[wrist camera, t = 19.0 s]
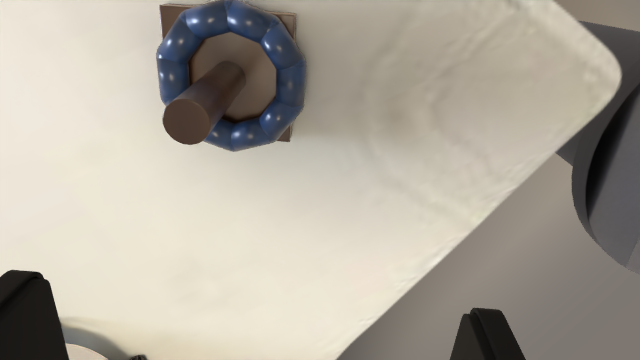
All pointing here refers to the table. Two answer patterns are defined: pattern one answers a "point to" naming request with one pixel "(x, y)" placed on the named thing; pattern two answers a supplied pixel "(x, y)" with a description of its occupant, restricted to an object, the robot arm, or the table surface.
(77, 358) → the coffee press
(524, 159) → the table surface
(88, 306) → the table surface
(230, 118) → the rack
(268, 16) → the ring
